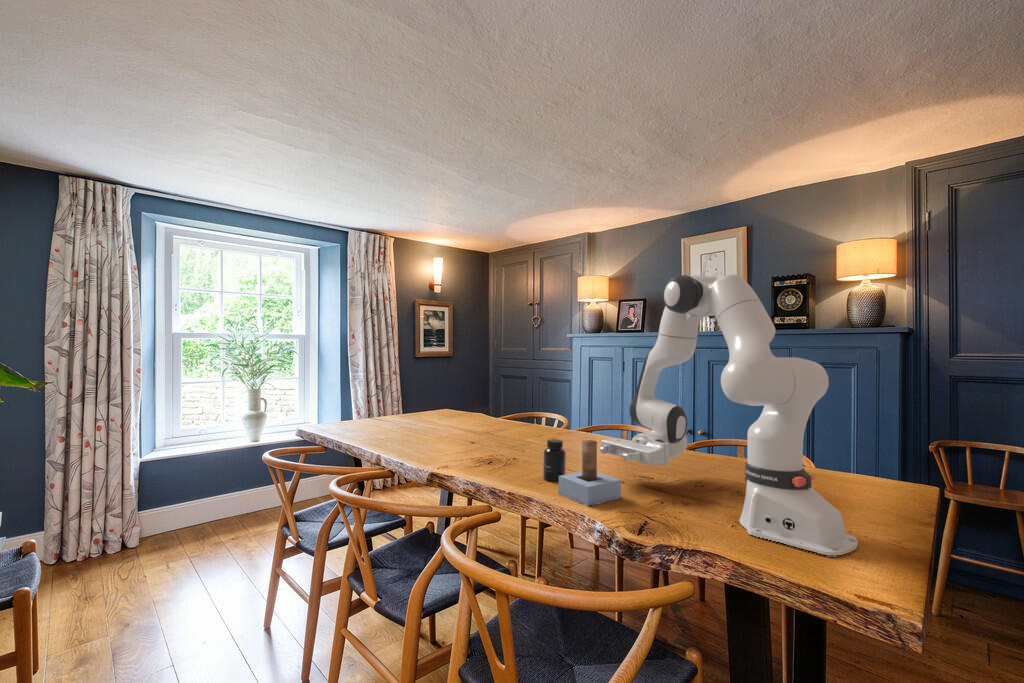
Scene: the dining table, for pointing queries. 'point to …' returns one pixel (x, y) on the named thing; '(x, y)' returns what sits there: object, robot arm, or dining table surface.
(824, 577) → the dining table surface
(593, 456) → the dowel
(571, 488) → the socket block
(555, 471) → the supplement bottle
